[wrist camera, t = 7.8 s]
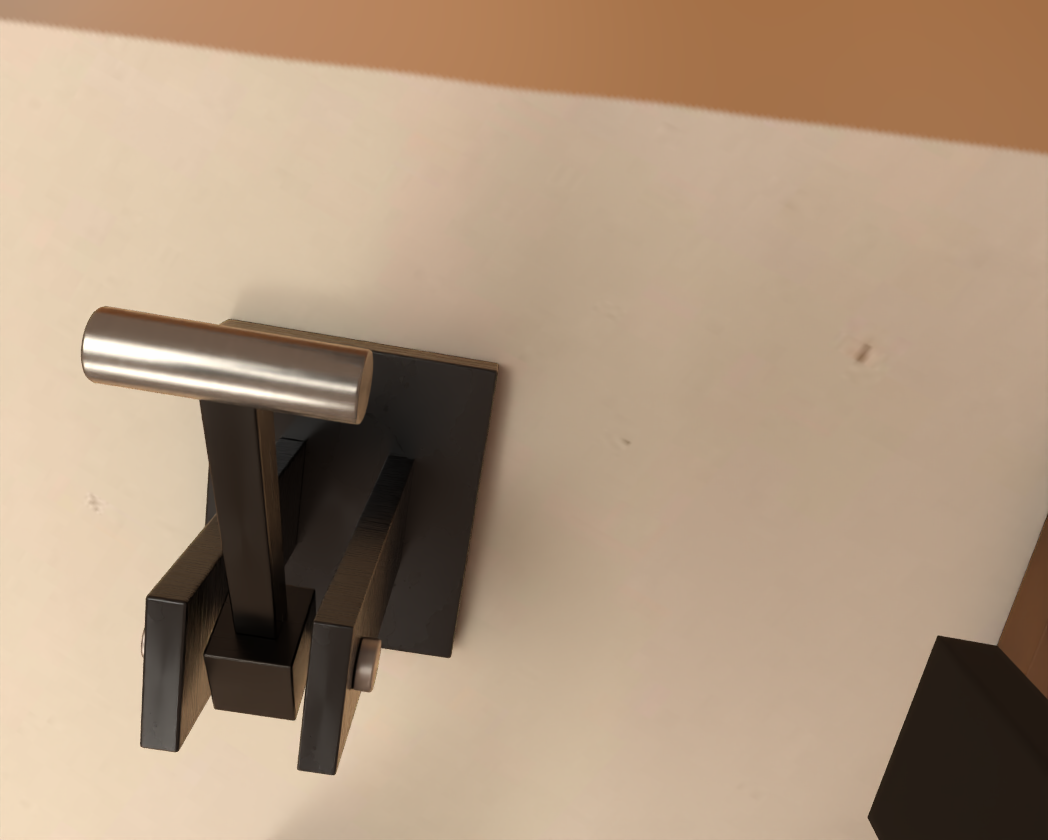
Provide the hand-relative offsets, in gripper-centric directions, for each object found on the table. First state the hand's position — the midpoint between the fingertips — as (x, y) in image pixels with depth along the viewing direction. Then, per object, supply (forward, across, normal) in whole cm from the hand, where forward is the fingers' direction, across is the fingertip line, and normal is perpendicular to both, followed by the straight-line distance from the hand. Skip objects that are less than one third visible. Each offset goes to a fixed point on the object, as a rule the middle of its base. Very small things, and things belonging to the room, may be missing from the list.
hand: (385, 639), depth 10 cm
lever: (+10, -4, -3) cm, 11 cm away
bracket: (+22, -4, -8) cm, 24 cm away
